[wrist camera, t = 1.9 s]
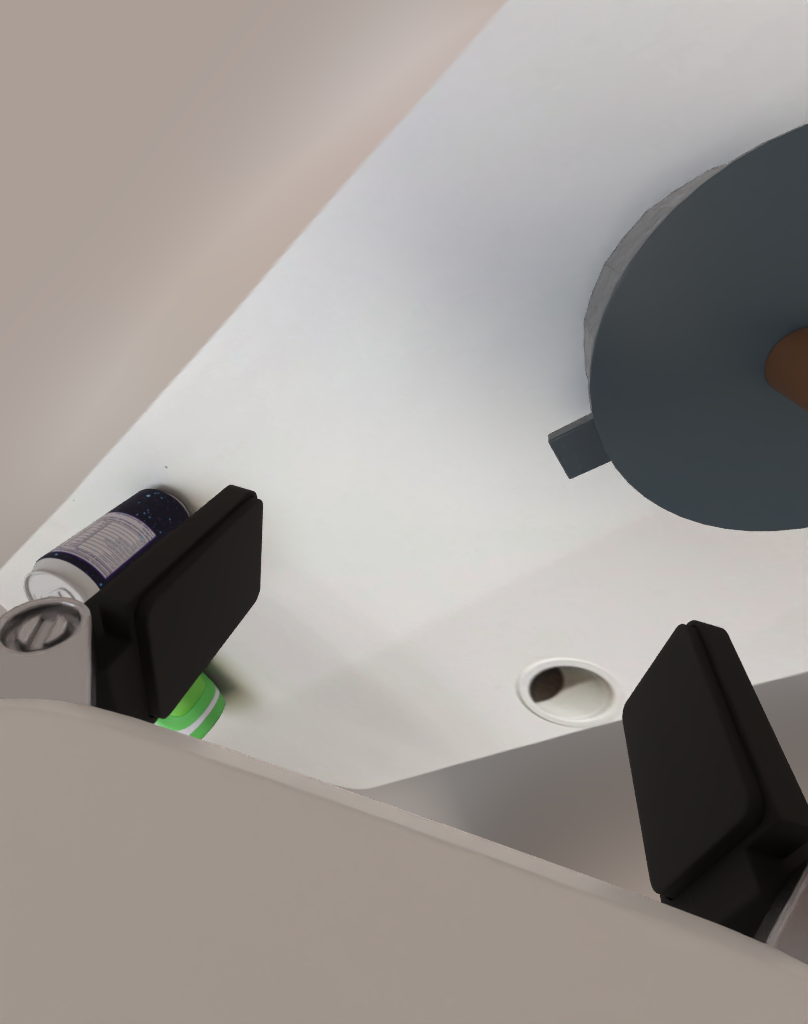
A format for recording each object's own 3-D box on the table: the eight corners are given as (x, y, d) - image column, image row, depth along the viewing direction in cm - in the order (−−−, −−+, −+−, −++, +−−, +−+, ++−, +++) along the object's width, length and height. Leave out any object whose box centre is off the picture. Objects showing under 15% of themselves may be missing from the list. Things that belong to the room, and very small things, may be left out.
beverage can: (126, 498, 43) (2, 581, 33) (167, 474, 41) (46, 556, 31) (169, 548, 45) (63, 641, 35) (210, 527, 43) (110, 621, 33)
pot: (496, 307, 29) (484, 334, 22) (932, 22, 20) (1155, -92, 13) (602, 501, 33) (621, 576, 26) (996, 338, 24) (1188, 385, 17)
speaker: (83, 598, 52) (20, 650, 45) (118, 572, 48) (55, 624, 42) (202, 704, 57) (160, 765, 50) (241, 687, 53) (201, 750, 47)
